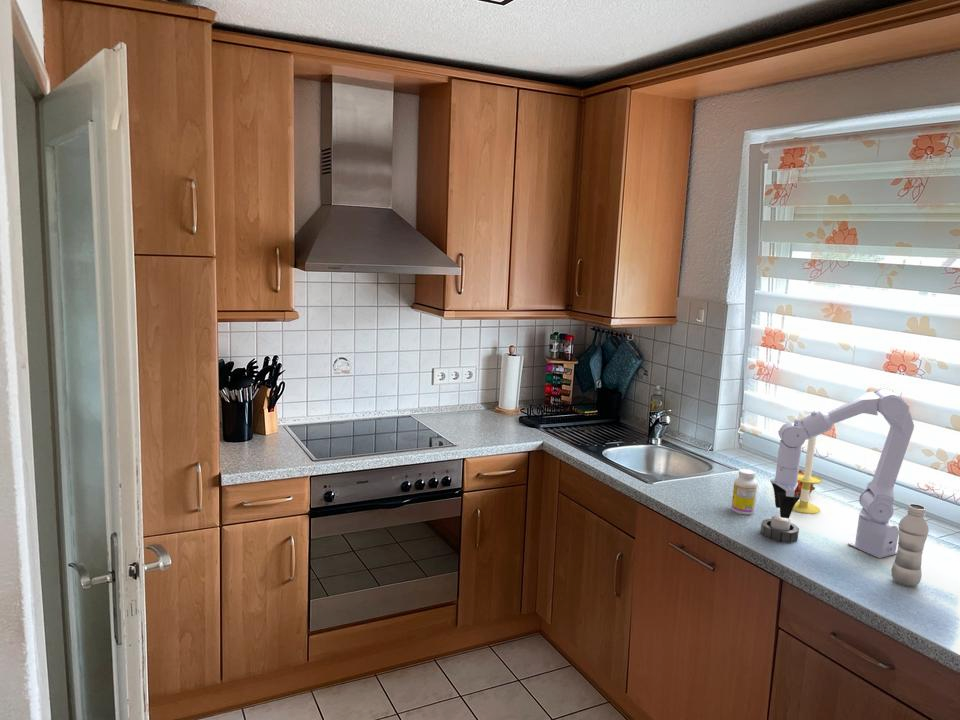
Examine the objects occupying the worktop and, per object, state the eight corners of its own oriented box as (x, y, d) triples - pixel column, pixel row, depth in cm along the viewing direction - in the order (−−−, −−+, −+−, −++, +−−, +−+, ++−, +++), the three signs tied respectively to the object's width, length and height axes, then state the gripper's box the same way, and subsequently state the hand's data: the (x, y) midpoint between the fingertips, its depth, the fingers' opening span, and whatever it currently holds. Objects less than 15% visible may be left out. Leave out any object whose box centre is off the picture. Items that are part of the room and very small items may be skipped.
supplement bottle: (735, 505, 225) (740, 466, 222) (757, 511, 221) (762, 471, 218) (727, 511, 220) (732, 471, 217) (749, 517, 216) (754, 476, 213)
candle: (782, 508, 224) (792, 424, 220) (790, 499, 232) (801, 419, 227) (816, 516, 218) (828, 431, 214) (823, 507, 226) (835, 425, 222)
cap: (792, 537, 202) (794, 520, 201) (780, 540, 200) (782, 523, 199) (777, 531, 206) (779, 513, 205) (765, 533, 204) (767, 516, 203)
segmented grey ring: (804, 539, 201) (806, 529, 200) (780, 545, 196) (782, 534, 196) (777, 526, 209) (778, 517, 209) (753, 531, 205) (754, 521, 204)
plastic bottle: (892, 586, 175) (904, 509, 172) (887, 574, 182) (899, 499, 178) (922, 592, 173) (935, 514, 170) (916, 580, 179) (929, 504, 176)
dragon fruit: (807, 494, 242) (794, 508, 234) (787, 475, 245) (773, 488, 237) (824, 480, 237) (811, 493, 228) (804, 461, 240) (790, 473, 232)
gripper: (768, 457, 207) (763, 501, 209) (777, 472, 193) (771, 520, 195) (794, 459, 205) (788, 504, 208) (805, 475, 192) (799, 523, 194)
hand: (782, 512), depth 202 cm, fingers open, 7 cm apart
